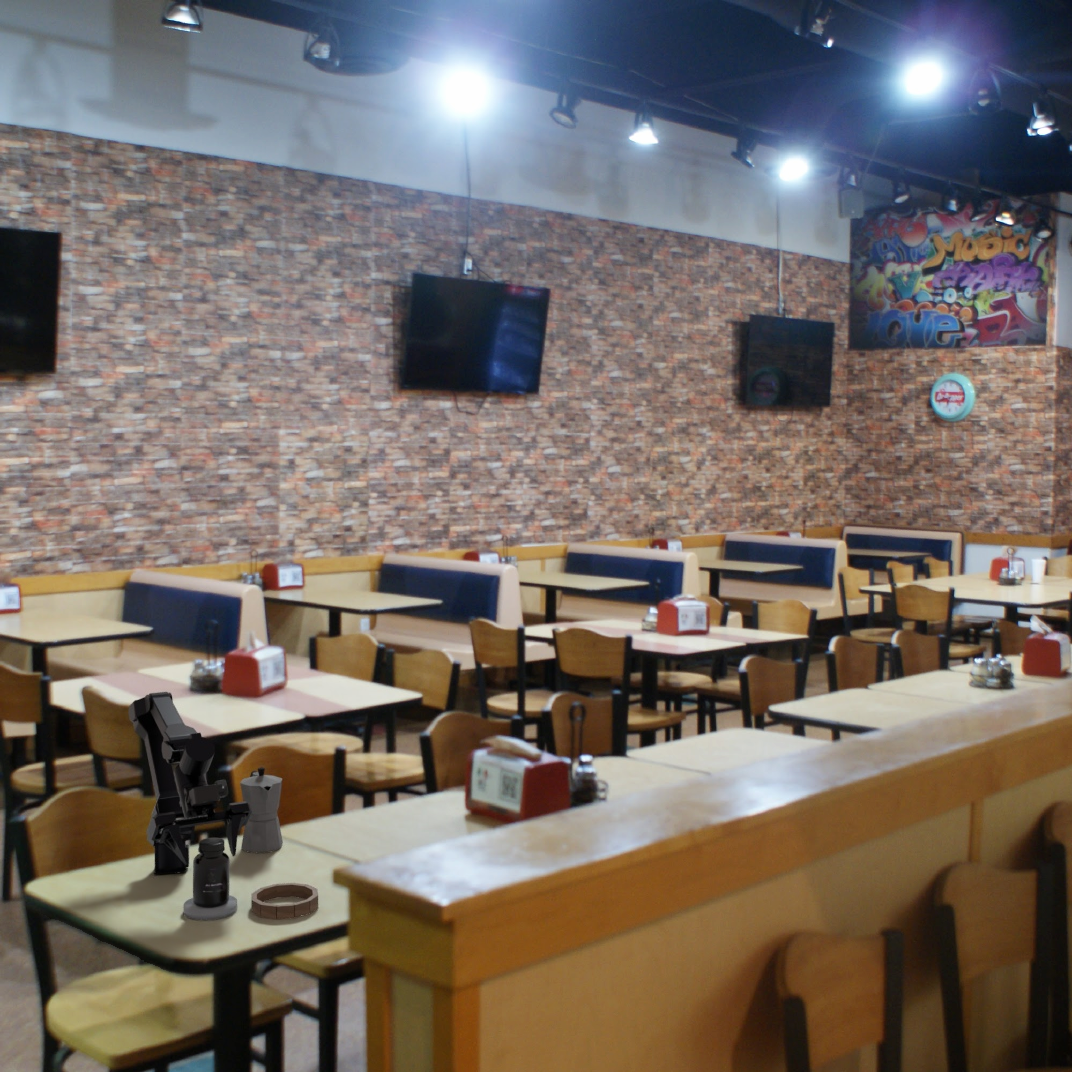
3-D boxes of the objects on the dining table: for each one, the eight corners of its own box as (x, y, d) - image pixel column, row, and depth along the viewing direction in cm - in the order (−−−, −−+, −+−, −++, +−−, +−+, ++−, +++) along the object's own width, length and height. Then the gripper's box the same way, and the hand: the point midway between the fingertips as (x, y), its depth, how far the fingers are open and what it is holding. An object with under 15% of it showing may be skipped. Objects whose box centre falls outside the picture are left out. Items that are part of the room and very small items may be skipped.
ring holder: (251, 921, 235) (251, 908, 234) (251, 898, 247) (251, 885, 247) (319, 916, 237) (319, 903, 237) (316, 893, 250) (316, 881, 249)
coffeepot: (290, 852, 275) (289, 772, 274) (247, 858, 271) (246, 776, 270) (273, 833, 289) (273, 756, 287) (232, 838, 285) (231, 760, 283)
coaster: (182, 922, 234) (181, 914, 234) (184, 903, 244) (184, 895, 244) (236, 918, 236) (236, 910, 236) (237, 899, 246) (237, 892, 246)
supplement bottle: (210, 911, 236) (210, 849, 235) (185, 904, 239) (184, 842, 238) (237, 900, 241) (236, 839, 241) (212, 893, 245) (211, 833, 244)
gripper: (152, 773, 237) (169, 846, 229) (248, 761, 247) (267, 830, 238) (142, 804, 245) (158, 875, 236) (235, 790, 254) (254, 859, 246)
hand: (210, 859), depth 239 cm, fingers open, 9 cm apart
